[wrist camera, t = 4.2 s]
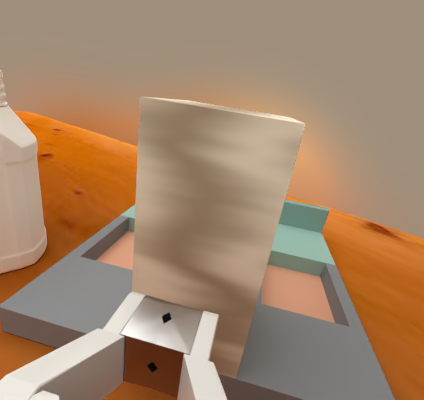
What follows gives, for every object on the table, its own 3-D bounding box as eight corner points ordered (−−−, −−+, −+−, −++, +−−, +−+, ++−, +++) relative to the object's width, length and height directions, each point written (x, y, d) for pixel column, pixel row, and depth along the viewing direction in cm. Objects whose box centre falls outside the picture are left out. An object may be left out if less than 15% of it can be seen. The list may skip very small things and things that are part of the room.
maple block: (244, 299, 19) (290, 117, 14) (235, 378, 13) (305, 124, 9) (167, 279, 20) (186, 100, 15) (129, 346, 14) (139, 96, 9)
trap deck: (315, 242, 33) (327, 208, 31) (392, 454, 13) (438, 391, 11) (149, 205, 36) (151, 172, 34) (2, 331, 16) (-12, 265, 14)
